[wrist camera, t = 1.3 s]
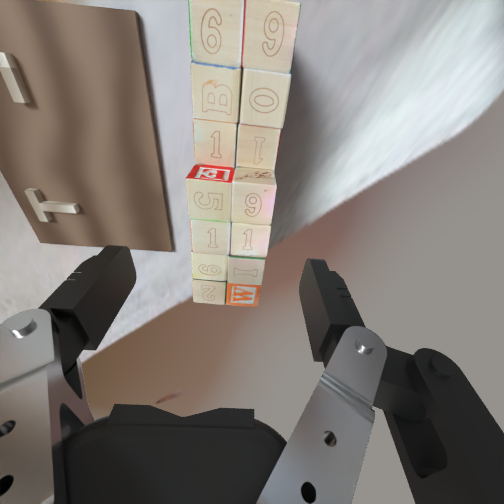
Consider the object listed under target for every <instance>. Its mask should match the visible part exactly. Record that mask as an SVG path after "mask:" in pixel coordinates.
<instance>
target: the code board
mask: <svg viewBox="0 0 504 504" xmlns="http://www.w3.org/2000/svg"><path fill="white" fill-rule="evenodd" d="M0 170H1V172H2V174H3V176H4V178H5V179H6V181H7V183H8V185H9V187H10V188H11V190H12V192H13V194H14V196H15V198H16V199H17V201H18V203H19V205H20V207H21V208H22V210H23V212H24V214H25V216H26V217H27V219H28V221H29V223H30V225H31V226H32V228H33V230H34V232H35V234H36V235H37V237H38V239H39V241H40V243H50V244H65V245H80V246H94V247H106V246H107V245H118V246H127V247H128V248H129V249H138V250H153V251H168V252H172V251H173V245H172V238H171V231H170V225H169V218H168V211H167V205H166V198H165V192H164V185H163V178H162V172H161V165H160V158H159V152H158V145H157V139H156V132H155V125H154V119H153V112H152V105H151V99H150V92H149V86H148V79H147V72H146V66H145V59H144V52H143V46H142V39H141V32H140V26H139V19H138V13H137V12H136V11H132V10H123V9H113V8H104V7H94V6H85V5H75V4H66V3H56V2H47V1H37V0H0Z"/></svg>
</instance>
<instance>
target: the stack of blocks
mask: <svg viewBox="0 0 504 504" xmlns="http://www.w3.org/2000/svg"><path fill="white" fill-rule="evenodd" d="M188 2H189V22H190V45H191V56H192V62H191V82H192V103H193V117H194V118H193V132H194V148H195V161H196V165H194V167H193V168H192V170H191V171H190V173H189V174H188V176H187V177H186V186H187V198H188V212H189V218H190V225H191V240H192V250H191V261H192V276H193V280H192V284H193V301H194V302H198V303H211V304H221V305H224V304H225V303H226V304H228V305H237V306H252V307H257V306H258V301H259V295H260V289H261V284H262V280H263V273H264V266H265V257H266V256H267V253H268V246H269V240H270V233H271V223H272V217H273V211H274V204H275V197H276V191H277V184H276V178H275V172H274V171H275V166H276V160H277V153H278V147H279V141H280V135H281V129H282V128H283V126H284V120H285V114H286V109H287V103H288V96H289V90H290V83H291V77H292V75H291V73H290V70H291V64H292V58H293V52H294V46H295V40H296V33H297V27H298V21H299V15H300V9H301V3H297V2H290V1H284V0H188Z"/></svg>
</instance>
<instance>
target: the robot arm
mask: <svg viewBox="0 0 504 504" xmlns="http://www.w3.org/2000/svg"><path fill="white" fill-rule="evenodd" d="M135 282H136V270H135V267H134V263H133V260H132V256H131V253H130V249H129V248H128V247H127V246H118V245H107V246H106V247H105V248H104V249H103V250H102V251H101V252H100V253H99V254H98V255H97V256H95V255H94V256H93V257H91V258H89V259H88V260H86V261H84V262H82V263H81V264H80V265H79V266H78V268H77V269H76V270H75V271H74V273H72V274H71V275H70V276H69V277H68V278H67V281H66V280H65V281H64V282H63V283H62V284H61V285H60V286H59V287H58V288H57V289H56V290H55V291H54V292H53V293H52V295H51V296H50V297H49V298H48V299H47V300H46V301H45V302H44V303H43V304H42V305H41V306H40V307H39V308H38V309H31V310H27V311H23V312H20V313H18V314H16V315H14V316H12V317H10V318H8V319H7V320H5V321H4V322H3V323H1V324H0V504H351V503H352V500H353V496H354V492H355V489H356V485H357V481H358V477H359V474H360V471H361V467H362V463H363V460H364V456H365V453H366V449H367V445H368V442H369V438H370V434H371V431H372V427H373V423H374V419H375V411H374V410H372V406H374V407H377V408H379V409H382V410H383V412H384V414H385V417H386V420H387V423H388V426H389V429H390V432H391V435H392V437H393V440H394V443H395V446H396V449H397V452H398V455H399V458H400V461H401V463H402V466H403V469H404V472H405V475H406V478H407V480H408V483H409V486H410V489H411V492H412V495H413V498H414V501H415V504H504V433H503V431H502V430H501V428H500V427H499V425H498V424H497V423H496V421H495V420H494V418H493V417H492V415H491V414H490V412H489V411H488V409H487V408H486V406H485V405H484V403H483V402H482V400H481V399H480V397H479V396H478V394H477V393H476V392H475V390H474V388H473V387H472V386H471V384H470V382H469V381H468V380H467V378H466V376H465V375H464V374H463V372H462V371H461V369H460V368H459V367H458V366H457V365H456V363H454V362H453V361H452V360H451V359H450V358H448V357H447V356H445V355H444V354H442V353H440V352H438V351H436V350H432V349H428V348H422V349H419V350H417V351H416V352H415V354H414V355H411V354H408V353H405V352H402V351H399V350H396V349H393V348H390V347H388V346H386V345H385V344H384V342H383V341H382V339H381V338H380V337H379V336H378V335H377V334H376V333H374V332H373V331H371V330H369V329H367V328H366V327H365V325H364V323H363V320H362V318H361V316H360V314H359V312H358V310H357V307H356V306H355V303H354V301H353V299H352V298H351V295H350V293H349V291H348V288H347V286H346V284H345V282H344V280H343V279H342V278H341V277H340V276H339V275H338V274H337V273H336V272H335V271H329V269H328V266H327V264H326V261H325V260H322V259H307V260H306V263H305V266H304V270H303V274H302V277H301V281H300V286H299V294H300V300H301V304H302V309H303V314H304V318H305V323H306V327H307V332H308V336H309V341H310V345H311V350H312V354H313V358H314V361H317V362H323V363H324V367H325V371H324V372H323V374H322V376H321V378H320V380H319V382H318V384H317V386H316V388H315V390H314V392H313V394H312V396H311V398H310V400H309V402H308V404H307V405H306V407H305V409H304V411H303V413H302V415H301V417H300V419H299V421H298V423H297V425H296V427H295V429H294V431H293V433H292V435H291V437H290V439H289V440H288V442H286V441H285V439H284V438H283V437H282V436H281V435H279V434H278V432H276V431H275V430H274V429H273V428H271V427H270V426H268V425H267V424H265V423H263V422H261V421H259V420H256V419H254V409H236V408H218V409H214V410H211V411H207V412H203V413H199V414H195V415H191V416H187V417H180V416H177V415H175V414H172V413H169V412H166V411H164V410H161V409H158V408H156V407H153V406H150V405H127V404H114V407H113V409H112V411H111V414H110V415H109V416H106V417H103V418H100V419H98V420H96V421H94V418H93V415H92V413H91V411H90V408H89V405H88V401H87V396H86V390H85V385H84V378H83V373H82V367H81V361H80V359H79V355H80V354H81V352H82V351H83V350H96V349H97V348H98V346H99V344H100V343H101V341H102V339H103V338H104V336H105V334H106V333H107V331H108V329H109V328H110V326H111V324H112V322H113V321H114V319H115V317H116V316H117V314H118V312H119V311H120V309H121V307H122V306H123V304H124V302H125V301H126V299H127V297H128V295H129V294H130V292H131V290H132V289H133V287H134V285H135Z"/></svg>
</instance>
